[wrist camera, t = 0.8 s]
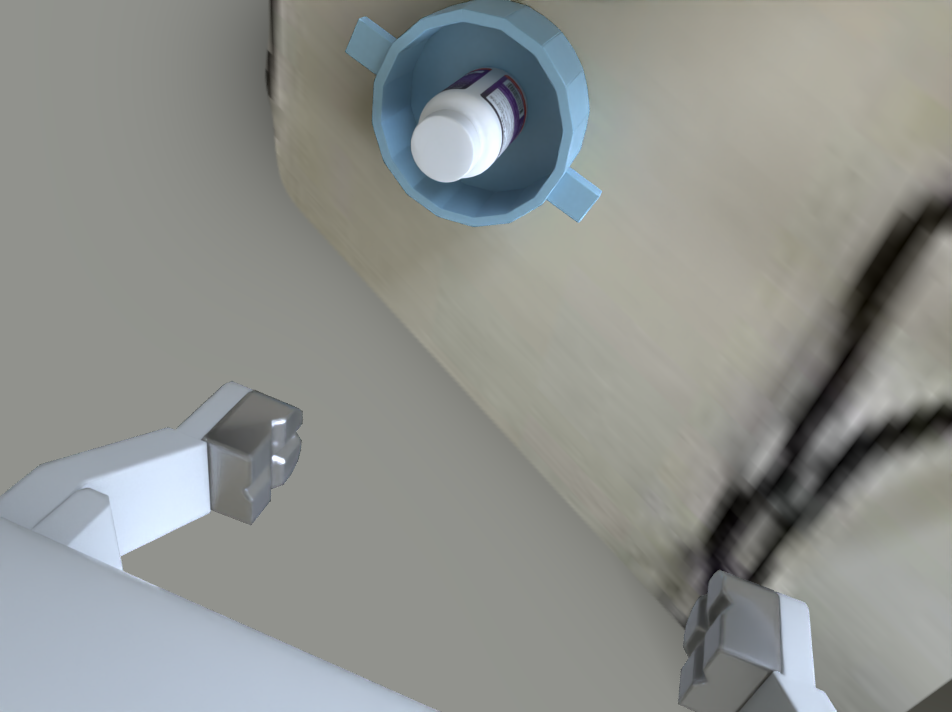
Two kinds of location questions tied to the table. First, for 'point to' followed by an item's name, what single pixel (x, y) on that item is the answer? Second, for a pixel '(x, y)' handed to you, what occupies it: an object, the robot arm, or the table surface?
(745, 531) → the table surface
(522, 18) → the pan
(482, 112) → the pill bottle
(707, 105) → the table surface
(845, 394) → the table surface
